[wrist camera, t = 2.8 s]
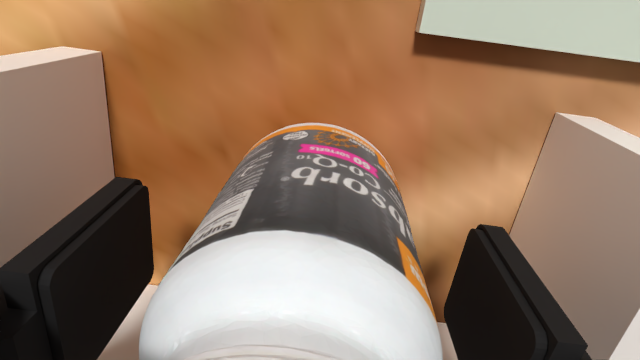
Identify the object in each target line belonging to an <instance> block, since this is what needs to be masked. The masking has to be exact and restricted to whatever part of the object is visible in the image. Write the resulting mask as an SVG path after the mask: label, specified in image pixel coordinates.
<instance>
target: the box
mask: <svg viewBox="0 0 640 360" xmlns="http://www.w3.org/2000/svg"><path fill="white" fill-rule="evenodd" d="M114 178H115V176H114V167H113V157H112V148H111V138H110V129H109V119H108V110H107V100H106V91H105V81H104V72H103V63H102V53H101V51H93V50H86V49H78V48H71V47H63V46H61V47H55V48H48V49H42V50H35V51H29V52H22V53H16V54H10V55H3V56H0V267H2V266H3V265H4V264H6V263H7V262H8V261H9V260H11V259H12V258H13V257H14V256H16V255H17V254H18V253H20V252H21V251H22V250H23V249H25V248H26V247H27V246H28V245H30V244H31V243H32V242H34V241H35V240H36V239H37V238H39V237H40V236H41V235H43V234H44V233H45V232H46V231H48V230H49V229H50V228H51V227H53V226H54V225H55V224H57V223H58V222H59V221H60V220H62V219H63V218H64V217H65V216H67V215H68V214H69V213H71V212H72V211H73V210H74V209H76V208H77V207H78V206H80V205H81V204H82V203H83V202H85V201H86V200H87V199H88V198H90V197H91V196H92V195H94V194H95V193H96V192H97V191H99V190H100V189H101V188H102V187H104V186H105V185H106V184H108V183H109V182H110V181H111V180H113V179H114ZM509 236H510V238H511V239H512V240H513V242H514V243H515V245H516V246H517V247H518V249H519V250H520V252H521V253H522V254H523V256H524V257H525V258H526V260H527V261H528V263H529V264H530V265H531V267H532V268H533V270H534V271H535V272H536V274H537V275H538V276H539V278H540V279H541V281H542V282H543V283H544V285H545V286H546V288H547V289H548V290H549V292H550V293H551V294H552V296H553V297H554V299H555V300H556V301H557V303H558V304H559V306H560V307H561V308H562V310H563V311H564V313H565V314H566V315H567V317H568V318H569V319H570V321H571V322H572V324H573V325H574V326H575V328H576V329H577V331H578V332H579V333H580V335H581V336H582V337H583V339H584V340H585V342H586V343H587V344H588V347H587V349H586V352H587V353H588V355H589V356H590V357H591V359H592V360H640V138H639V137H637V136H634V135H632V134H630V133H628V132H626V131H623V130H621V129H619V128H617V127H614V126H612V125H610V124H608V123H606V122H603V121H601V120H599V119H597V118H594V117H586V116H579V115H572V114H564V113H557V112H556V114H555V117H554V119H553V122H552V124H551V127H550V130H549V132H548V135H547V138H546V140H545V143H544V145H543V148H542V151H541V153H540V156H539V158H538V161H537V164H536V166H535V169H534V172H533V174H532V177H531V179H530V182H529V185H528V187H527V190H526V193H525V195H524V198H523V200H522V203H521V206H520V208H519V211H518V213H517V216H516V219H515V221H514V224H513V227H512V229H511V232H510V234H509ZM157 288H158V286H157V285H149V284H148V285H147V287H146V288H145V290H144V291H143V293H142V294H141V296H140V297H139V298H138V300H137V301H136V303H135V304H134V306H133V307H132V309H131V310H130V312H129V313H128V315H127V316H126V318H125V319H124V321H123V322H122V324H121V325H120V326H119V328H118V329H117V331H116V332H115V334H114V335H113V337H112V338H111V340H110V341H109V343H108V344H107V346H106V347H105V349H104V350H103V352H102V353H101V355H100V356H99V357H98V359H97V360H139V338H140V332H141V327H142V322H143V319H144V315H145V313H146V310H147V308H148V305H149V302H150V300H151V297H152V296H153V294H154V293H155V291H156V290H157ZM437 325H438V329H439V333H440V338H441V344H442V353H443V360H458V358H457V355H456V352H455V349H454V346H453V343H452V340H451V337H450V334H449V331H448V328H447V325H446V323H440V322H437Z"/></svg>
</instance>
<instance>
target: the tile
mask: <svg viewBox="0 0 640 360" xmlns="http://www.w3.org/2000/svg"><path fill="white" fill-rule="evenodd" d="M415 31H416V32H419V33H425V34H433V35H440V36H448V37H455V38H463V39H470V40H477V41H485V42H492V43H500V44H507V45H515V46H522V47H529V48H537V49H544V50H552V51H559V52H567V53H574V54H581V55H589V56H596V57H604V58H611V59H618V60H626V61H633V62H640V0H422V1H421V6H420V11H419V16H418V20H417V25H416V30H415Z"/></svg>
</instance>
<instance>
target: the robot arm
mask: <svg viewBox="0 0 640 360" xmlns="http://www.w3.org/2000/svg"><path fill="white" fill-rule="evenodd" d="M153 271H154V263H153V249H152V234H151V220H150V205H149V192H148V188H147V187H146V186H143V185H142V183H141V181H140V180H137V179H129V178H121V177H116V178H114V179H113V180H111V181H110V182H109V183H108V184H106V185H105V186H104V187H102V188H101V189H100V190H99V191H97V192H96V193H95V194H94V195H92V196H91V197H90V198H88V199H87V200H86V201H85V202H83V203H82V204H81V205H80V206H78V207H77V208H76V209H74V210H73V211H72V212H71V213H69V214H68V215H67V216H65V217H64V218H63V219H62V220H60V221H59V222H58V223H57V224H55V225H54V226H53V227H51V228H50V229H49V230H48V231H46V232H45V233H44V234H43V235H41V236H40V237H39V238H37V239H36V240H35V241H34V242H32V243H31V244H30V245H28V246H27V247H26V248H25V249H23V250H22V251H21V252H20V253H18V254H17V255H16V256H14V257H13V258H12V259H11V260H9V261H8V262H7V263H6V264H4V265H3V266H2V267H0V360H97V359H98V357H99V356H100V355H101V353H102V352H103V350H104V349H105V347H106V346H107V344H108V343H109V341H110V340H111V338H112V337H113V335H114V334H115V332H116V331H117V329H118V328H119V326H120V325H121V324H122V322H123V321H124V319H125V318H126V316H127V315H128V313H129V312H130V310H131V309H132V307H133V306H134V304H135V303H136V301H137V300H138V298H139V297H140V296H141V294H142V293H143V291H144V290H145V288H146V287H147V285H148V284H149V282H150V280H151V278H152V276H153ZM444 318H445V321H446V325H447V328H448V331H449V334H450V337H451V340H452V343H453V346H454V349H455V352H456V355H457V358H458V360H592V359H591V357H590V356H589V355H588V353H587V352H586V349H587V347H588V344H587V343H586V342H585V340H584V339H583V337H582V336H581V335H580V333H579V332H578V331H577V329H576V328H575V326H574V325H573V324H572V322H571V321H570V319H569V318H568V317H567V315H566V314H565V313H564V311H563V310H562V308H561V307H560V306H559V304H558V303H557V301H556V300H555V299H554V297H553V296H552V294H551V293H550V292H549V290H548V289H547V288H546V286H545V285H544V283H543V282H542V281H541V279H540V278H539V276H538V275H537V274H536V272H535V271H534V270H533V268H532V267H531V265H530V264H529V263H528V261H527V260H526V258H525V257H524V256H523V254H522V253H521V252H520V250H519V249H518V247H517V246H516V245H515V243H514V242H513V240H512V239H511V238H510V236H509V235H508V234H507V232H506V231H505V229H504V228H503V227H497V226H489V225H482V224H480V225H478V226H477V228H476V229H471V230H470V231H469V234H468V236H467V239H466V242H465V245H464V249H463V252H462V255H461V258H460V261H459V264H458V267H457V270H456V273H455V276H454V279H453V282H452V285H451V288H450V291H449V294H448V297H447V300H446V303H445V306H444Z"/></svg>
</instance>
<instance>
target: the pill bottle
mask: <svg viewBox="0 0 640 360" xmlns="http://www.w3.org/2000/svg"><path fill="white" fill-rule="evenodd" d="M139 360H443V353H442V344H441V338H440V333H439V329H438V325H437V321H436V317H435V314H434V310H433V307H432V303H431V300H430V297H429V293H428V290H427V287H426V283H425V279H424V276H423V272H422V269H421V266H420V262H419V259H418V256H417V252H416V248H415V245H414V241H413V237H412V233H411V228H410V225H409V221H408V217H407V214H406V210H405V207H404V204H403V201H402V197H401V194H400V190H399V187H398V184H397V181H396V178H395V176H394V173H393V171H392V169H391V167H390V166H389V164H388V162H387V161H386V159H385V158H384V156H383V155H382V154H381V153H380V152H379V151H378V150H377V149H376V148H375V147H374V146H373V145H372V144H371V143H370V142H368V141H367V140H366V139H364V138H363V137H361V136H359V135H358V134H356V133H354V132H352V131H350V130H347V129H345V128H342V127H339V126H335V125H331V124H323V123H302V124H296V125H291V126H287V127H284V128H282V129H279V130H276V131H274V132H273V133H271V134H269V135H267V136H266V137H264V138H263V139H261V140H260V141H259V142H257V143H256V144H255V145H254V146H253V147H252V148H251V149H250V150H249V151H248V153H247V154H246V155H245V156H244V158H243V159H242V160H241V162H240V163H239V165H238V166H237V168H236V169H235V171H234V172H233V173H232V175H231V177H230V178H229V180H228V181H227V183H226V184H225V186H224V187H223V189H222V190H221V192H220V193H219V194H218V196H217V198H216V199H215V201H214V202H213V204H212V206H211V207H210V209H209V211H208V212H207V214H206V216H205V217H204V219H203V220H202V222H201V224H200V225H199V227H198V228H197V230H196V231H195V232H194V234H193V235H192V237H191V238H190V240H189V241H188V243H187V244H186V245H185V247H184V249H183V250H182V252H181V253H180V254H179V256H178V257H177V259H176V260H175V262H174V263H173V265H172V266H171V267H170V269H169V270H168V272H167V274H166V275H165V276H164V278H163V279H162V281H161V282H160V284H159V285H158V288H157V290H156V291H155V293H154V294H153V296H152V297H151V300H150V302H149V305H148V308H147V310H146V313H145V315H144V319H143V322H142V327H141V332H140V338H139Z"/></svg>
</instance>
